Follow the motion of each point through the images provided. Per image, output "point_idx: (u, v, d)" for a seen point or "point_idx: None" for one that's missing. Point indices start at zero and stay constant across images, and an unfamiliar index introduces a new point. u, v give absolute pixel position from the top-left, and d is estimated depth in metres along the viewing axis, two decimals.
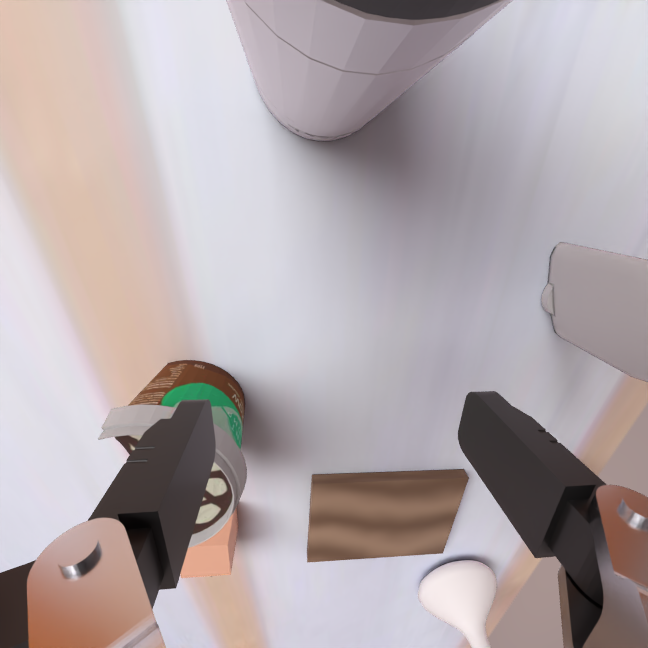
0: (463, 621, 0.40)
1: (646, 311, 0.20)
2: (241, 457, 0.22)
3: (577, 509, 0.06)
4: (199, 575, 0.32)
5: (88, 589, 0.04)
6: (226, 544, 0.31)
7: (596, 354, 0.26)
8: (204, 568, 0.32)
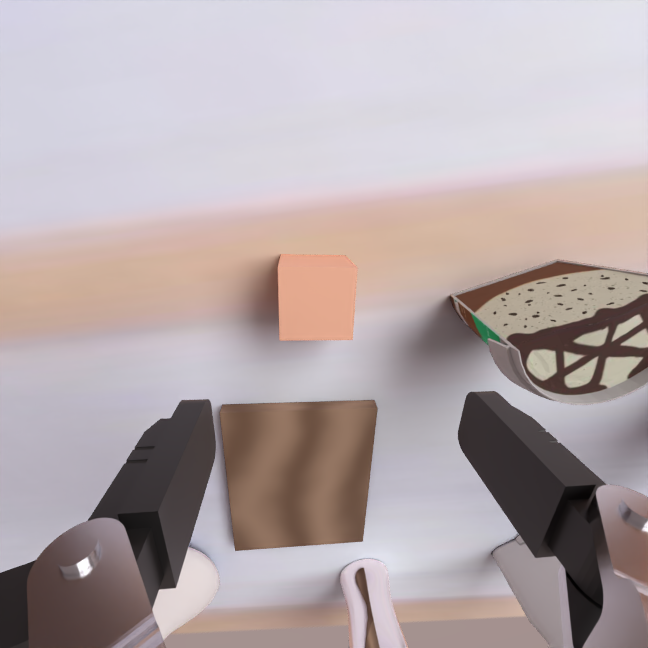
0: (158, 621, 0.29)
1: None
2: None
3: (578, 509, 0.06)
4: (281, 295, 0.20)
5: (88, 590, 0.04)
6: (351, 337, 0.21)
7: (523, 587, 0.35)
8: (299, 304, 0.20)
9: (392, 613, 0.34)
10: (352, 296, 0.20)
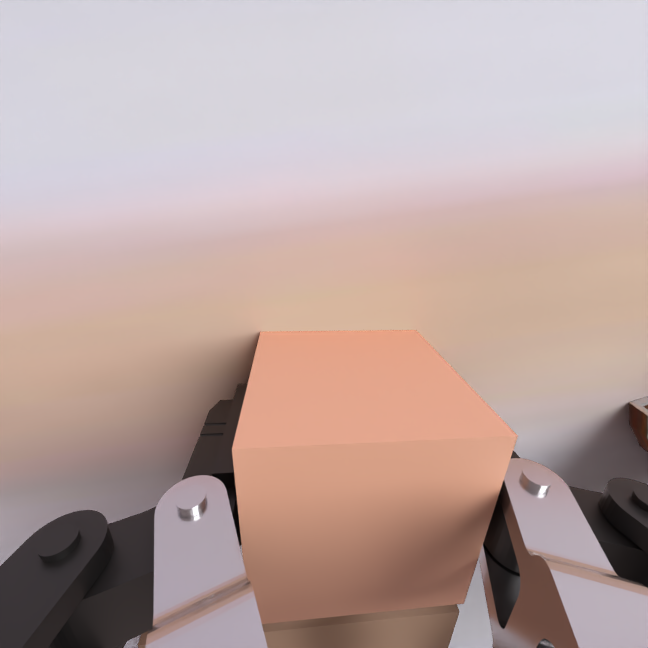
0: None
1: None
2: None
3: None
4: (251, 526, 0.06)
5: (196, 533, 0.05)
6: (461, 597, 0.07)
7: None
8: (312, 543, 0.06)
9: None
10: (484, 511, 0.06)
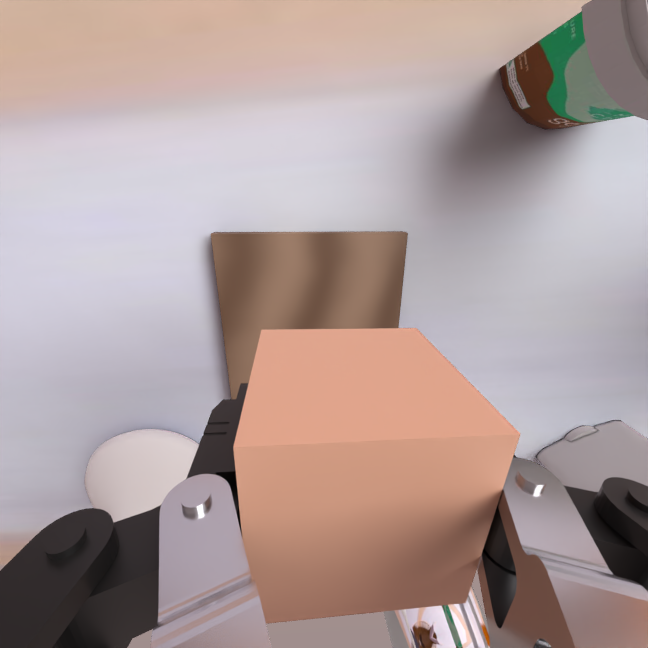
0: (144, 509, 0.24)
1: None
2: None
3: None
4: (252, 525, 0.06)
5: (201, 531, 0.05)
6: (463, 596, 0.07)
7: (581, 482, 0.29)
8: (313, 542, 0.06)
9: None
10: (486, 510, 0.06)
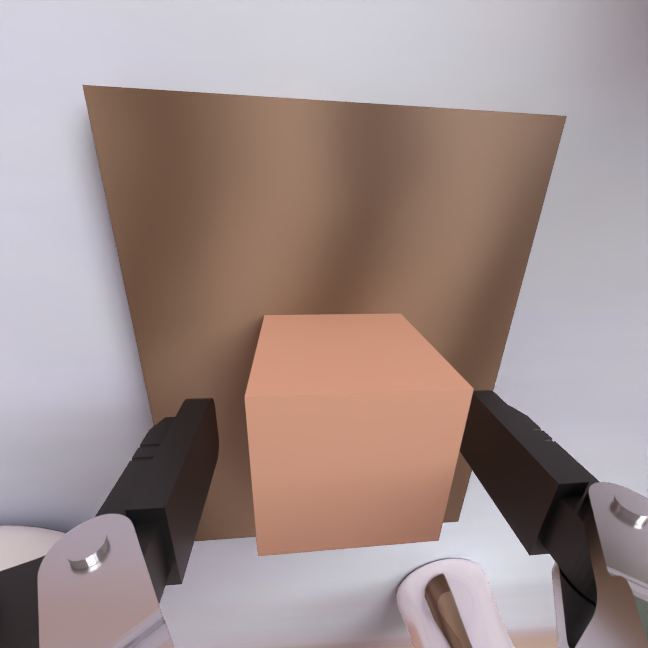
0: None
1: None
2: None
3: (570, 506, 0.06)
4: (259, 464, 0.07)
5: (97, 584, 0.04)
6: (436, 535, 0.09)
7: None
8: (309, 481, 0.07)
9: None
10: (450, 455, 0.08)
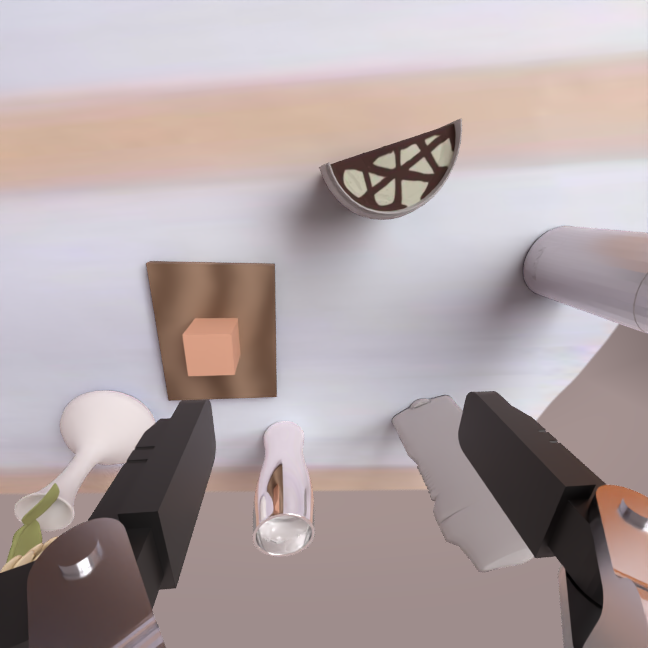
0: (99, 440, 0.36)
1: None
2: (397, 217, 0.29)
3: (577, 509, 0.06)
4: (186, 350, 0.33)
5: (88, 589, 0.04)
6: (234, 373, 0.35)
7: (408, 434, 0.43)
8: (198, 355, 0.34)
9: (298, 451, 0.41)
10: (230, 350, 0.34)
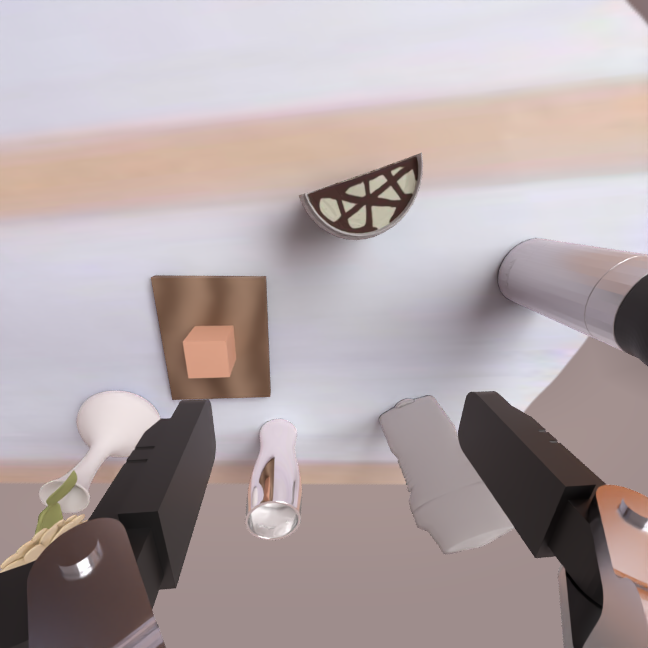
0: (111, 435, 0.41)
1: (439, 433, 0.43)
2: (370, 237, 0.32)
3: (577, 509, 0.06)
4: (186, 355, 0.37)
5: (89, 589, 0.04)
6: (229, 376, 0.39)
7: (391, 432, 0.47)
8: (197, 359, 0.38)
9: (290, 446, 0.45)
10: (225, 355, 0.38)
